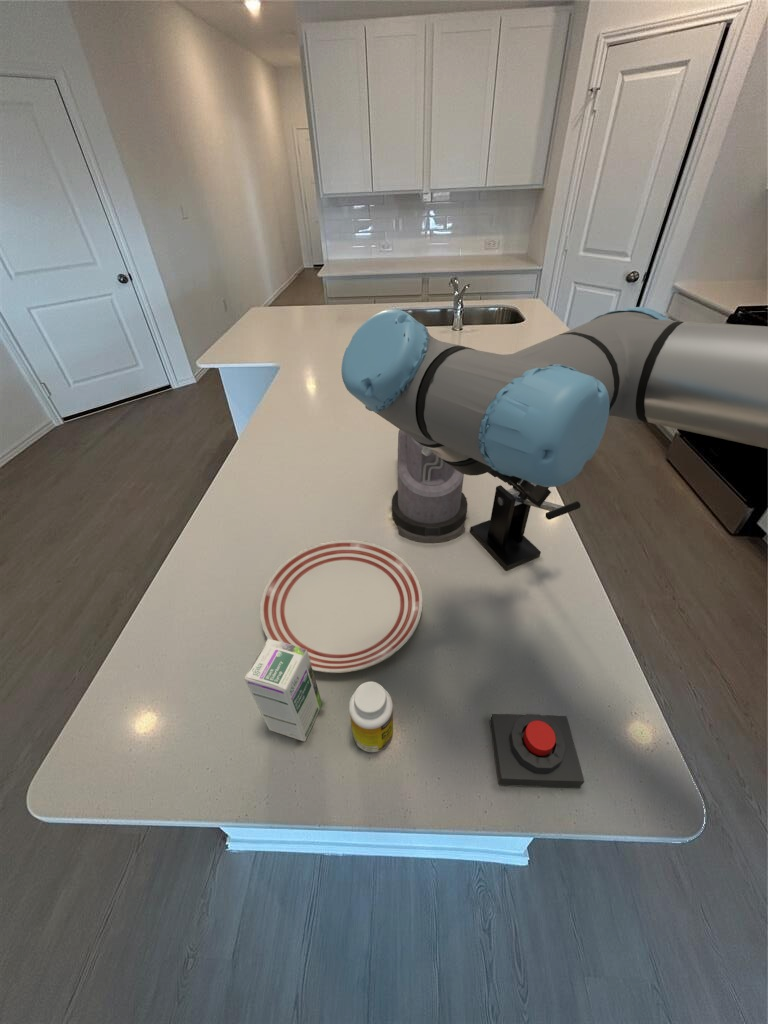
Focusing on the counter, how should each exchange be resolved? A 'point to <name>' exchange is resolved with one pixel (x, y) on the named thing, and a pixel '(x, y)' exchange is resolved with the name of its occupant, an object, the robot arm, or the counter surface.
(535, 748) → the button
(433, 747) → the counter surface
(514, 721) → the button block
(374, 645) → the dinner plate
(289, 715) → the syrup box
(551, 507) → the lever
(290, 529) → the counter surface
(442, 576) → the counter surface
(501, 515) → the bracket
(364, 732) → the supplement bottle
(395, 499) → the grey piece
